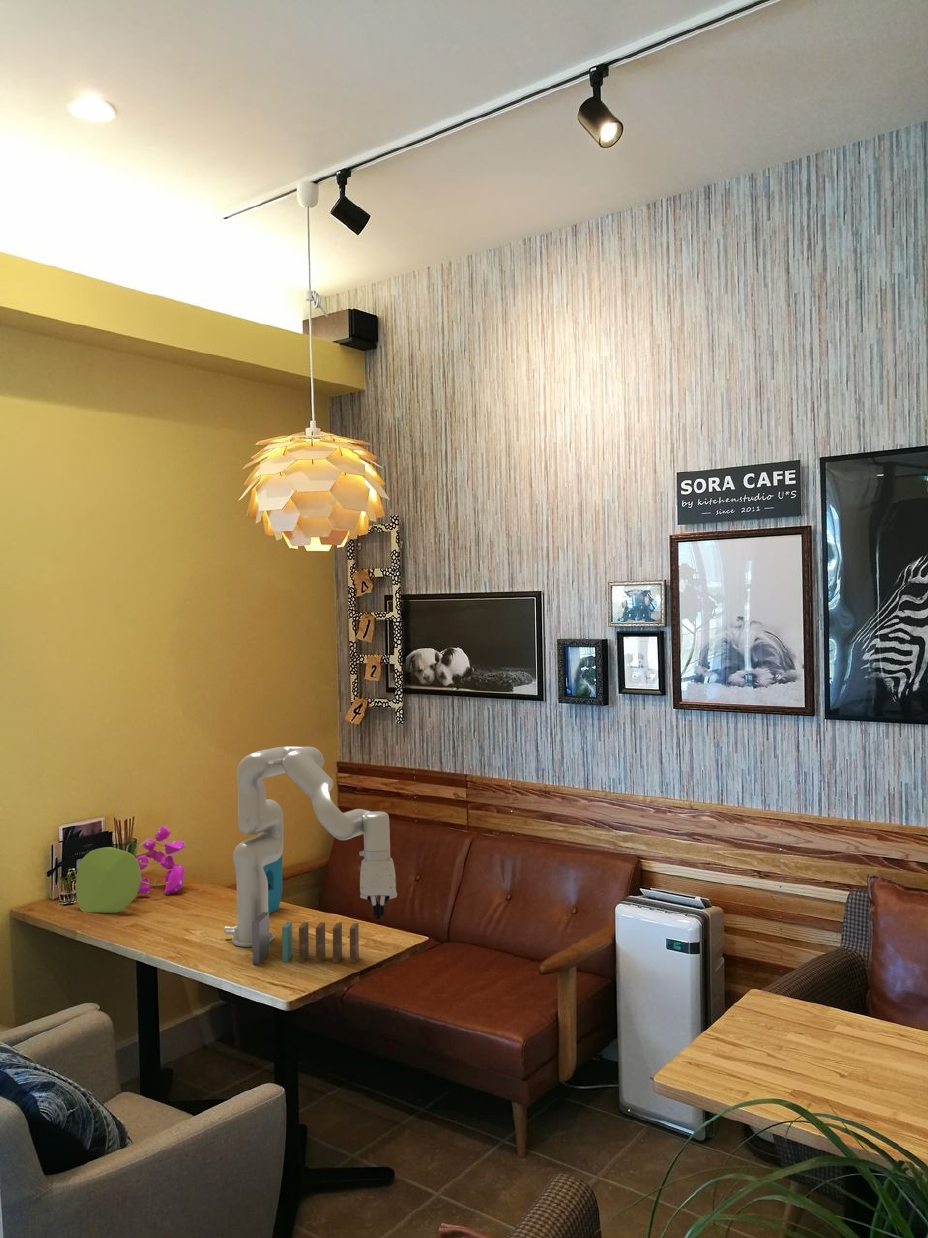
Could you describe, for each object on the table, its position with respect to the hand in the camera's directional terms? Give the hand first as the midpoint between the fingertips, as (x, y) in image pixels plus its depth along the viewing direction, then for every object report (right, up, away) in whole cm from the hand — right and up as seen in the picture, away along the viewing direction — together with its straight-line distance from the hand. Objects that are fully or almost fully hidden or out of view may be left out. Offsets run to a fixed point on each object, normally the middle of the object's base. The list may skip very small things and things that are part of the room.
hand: (379, 918), depth 277 cm
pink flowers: (-94, -14, +66) cm, 116 cm away
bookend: (-35, -13, +3) cm, 37 cm away
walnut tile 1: (-7, -13, +1) cm, 14 cm away
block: (-43, -13, +49) cm, 67 cm away
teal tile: (-27, -13, +2) cm, 30 cm away
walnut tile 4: (-22, -13, +2) cm, 26 cm away
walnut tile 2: (-12, -13, +1) cm, 18 cm away
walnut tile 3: (-17, -13, +2) cm, 21 cm away
